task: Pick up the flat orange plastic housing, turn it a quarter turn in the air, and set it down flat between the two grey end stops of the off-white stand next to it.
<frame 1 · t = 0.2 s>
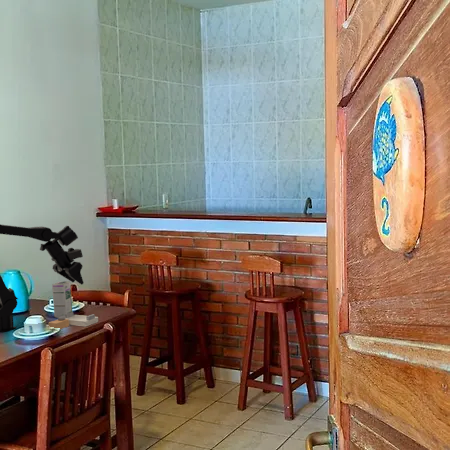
hand: (78, 282, 261), 15 cm above the table, tool tilted 30°, fingers open, 9 cm apart
syrup box: (63, 316, 266), on the table
stand: (80, 322, 253), on the table
housing: (59, 328, 246), on the table
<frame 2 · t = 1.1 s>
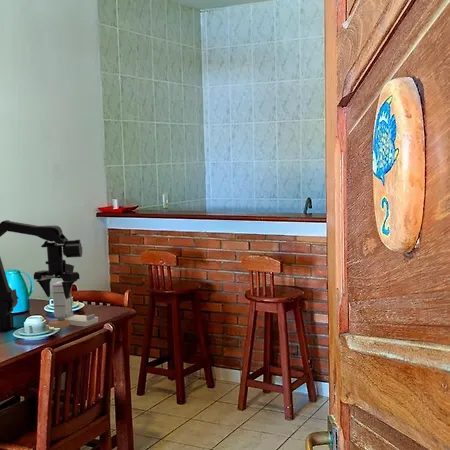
hand: (57, 297, 245), 12 cm above the table, tool pointing down, fingers open, 9 cm apart
nothing on the table moved.
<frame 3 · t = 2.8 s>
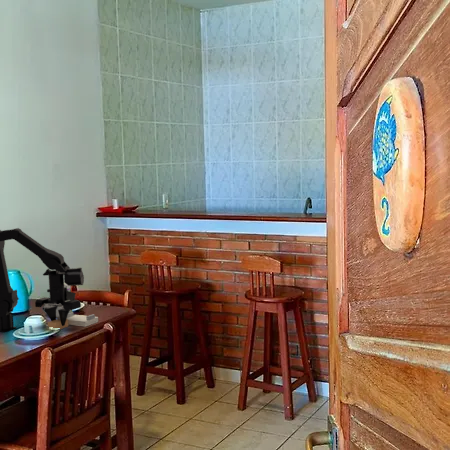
hand: (59, 325, 246), 1 cm above the table, tool pointing down, fingers closed on housing, 4 cm apart
housing: (58, 328, 245), on the table, touching gripper
everything else where it was.
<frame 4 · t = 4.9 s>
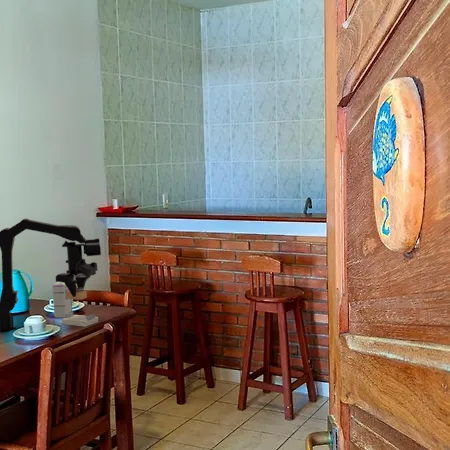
hand: (77, 295, 251), 11 cm above the table, tool pointing down, fingers closed on housing, 4 cm apart
housing: (76, 298, 251), point 10 cm above the table, touching gripper
everything else where it was.
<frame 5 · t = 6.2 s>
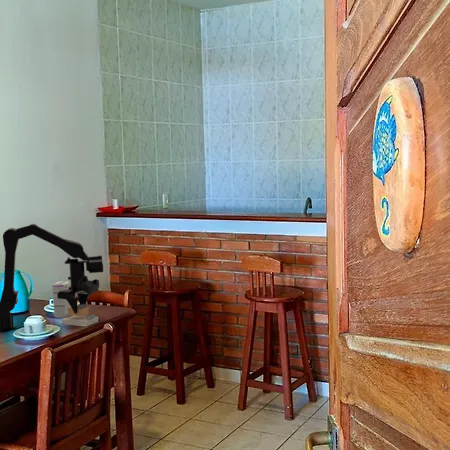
hand: (79, 312, 252), 4 cm above the table, tool pointing down, fingers closed on housing, 4 cm apart
housing: (78, 314, 252), point 3 cm above the table, touching gripper
everything else where it was.
when the fingers open (4 cm above the table, at t = 7.0 s): housing stays where it is, resting on stand.
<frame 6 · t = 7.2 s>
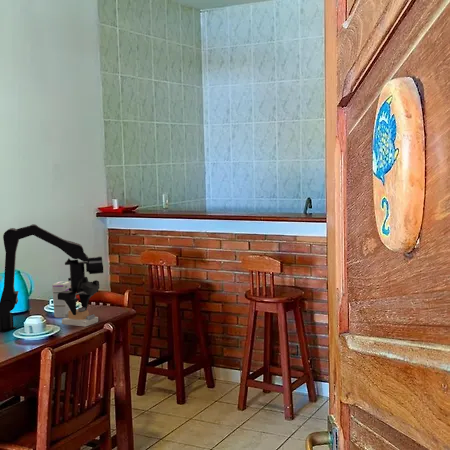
hand: (79, 313, 252), 4 cm above the table, tool pointing down, fingers open, 6 cm apart
housing: (78, 317, 253), point 2 cm above the table, touching stand
everything else where it was.
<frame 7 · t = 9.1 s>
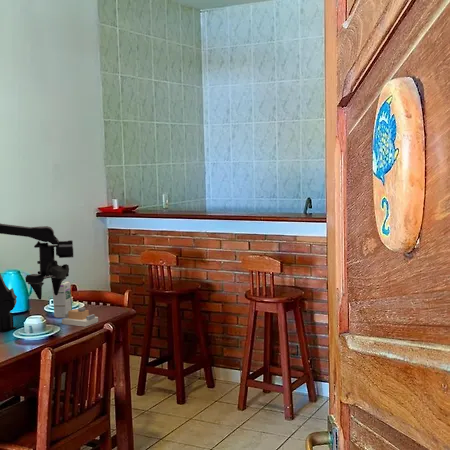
hand: (48, 297, 248), 12 cm above the table, tool pointing down, fingers open, 9 cm apart
nothing on the table moved.
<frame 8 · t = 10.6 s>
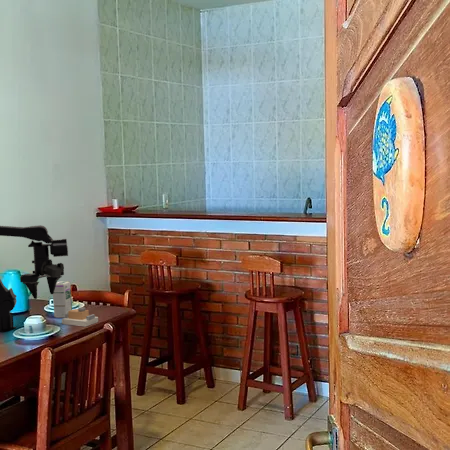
hand: (43, 296, 248), 12 cm above the table, tool pointing down, fingers open, 9 cm apart
nothing on the table moved.
at the end: housing 0.6 cm off-centre on the stand, point 2.0 cm above the stand's base; housing tilted 0°; the gripper is holding nothing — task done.
